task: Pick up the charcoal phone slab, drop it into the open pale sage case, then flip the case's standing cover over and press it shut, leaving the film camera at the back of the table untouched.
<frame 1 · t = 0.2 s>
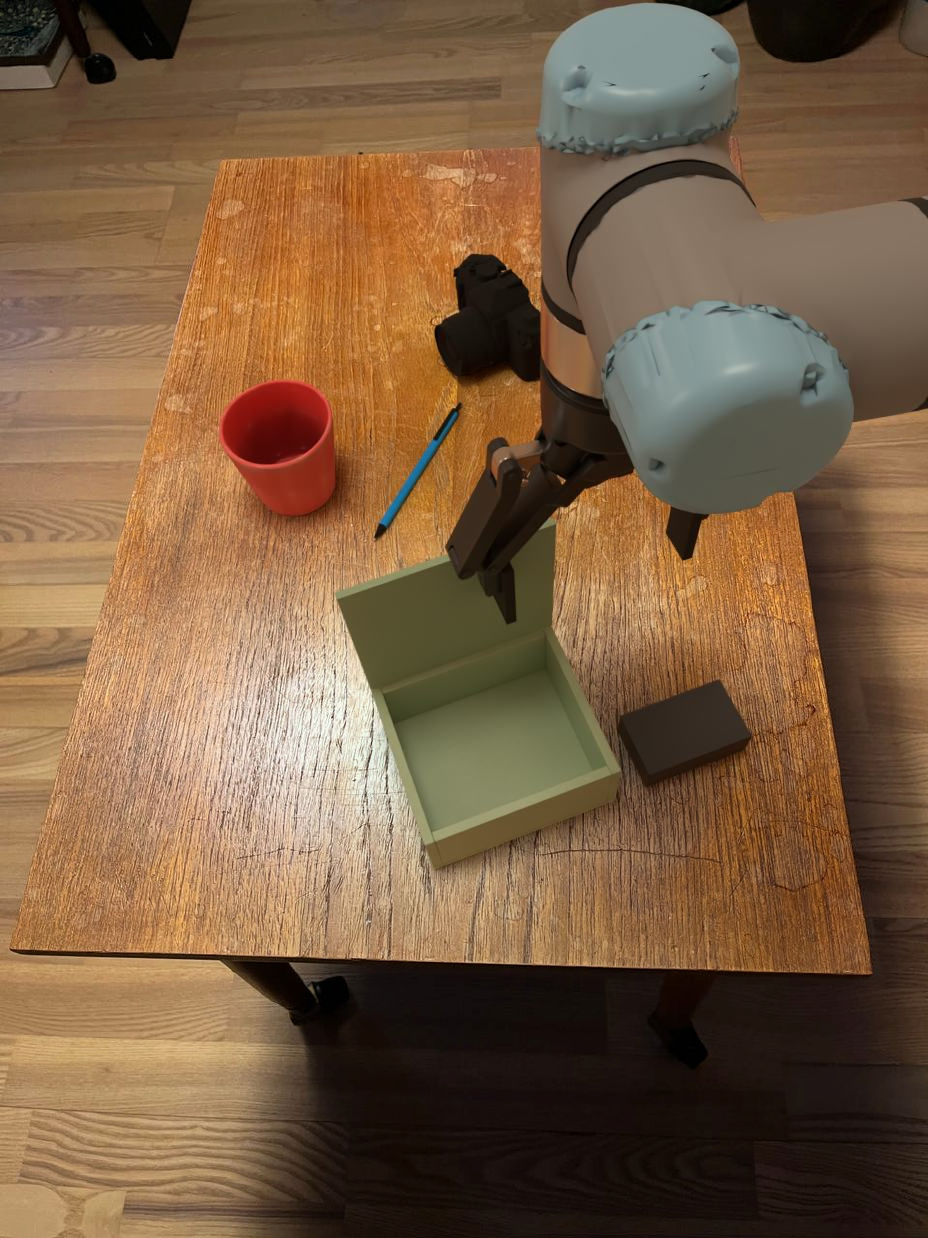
hand: (592, 576, 65), 16 cm above the table, tool pointing down, fingers open, 13 cm apart
cover: (454, 610, 67), point 14 cm above the table, hinge at 88.6°
pen: (419, 472, 92), on the table
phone: (680, 740, 75), on the table
film camera: (484, 353, 100), on the table
flower pot: (299, 487, 92), on the table
case: (495, 760, 76), on the table
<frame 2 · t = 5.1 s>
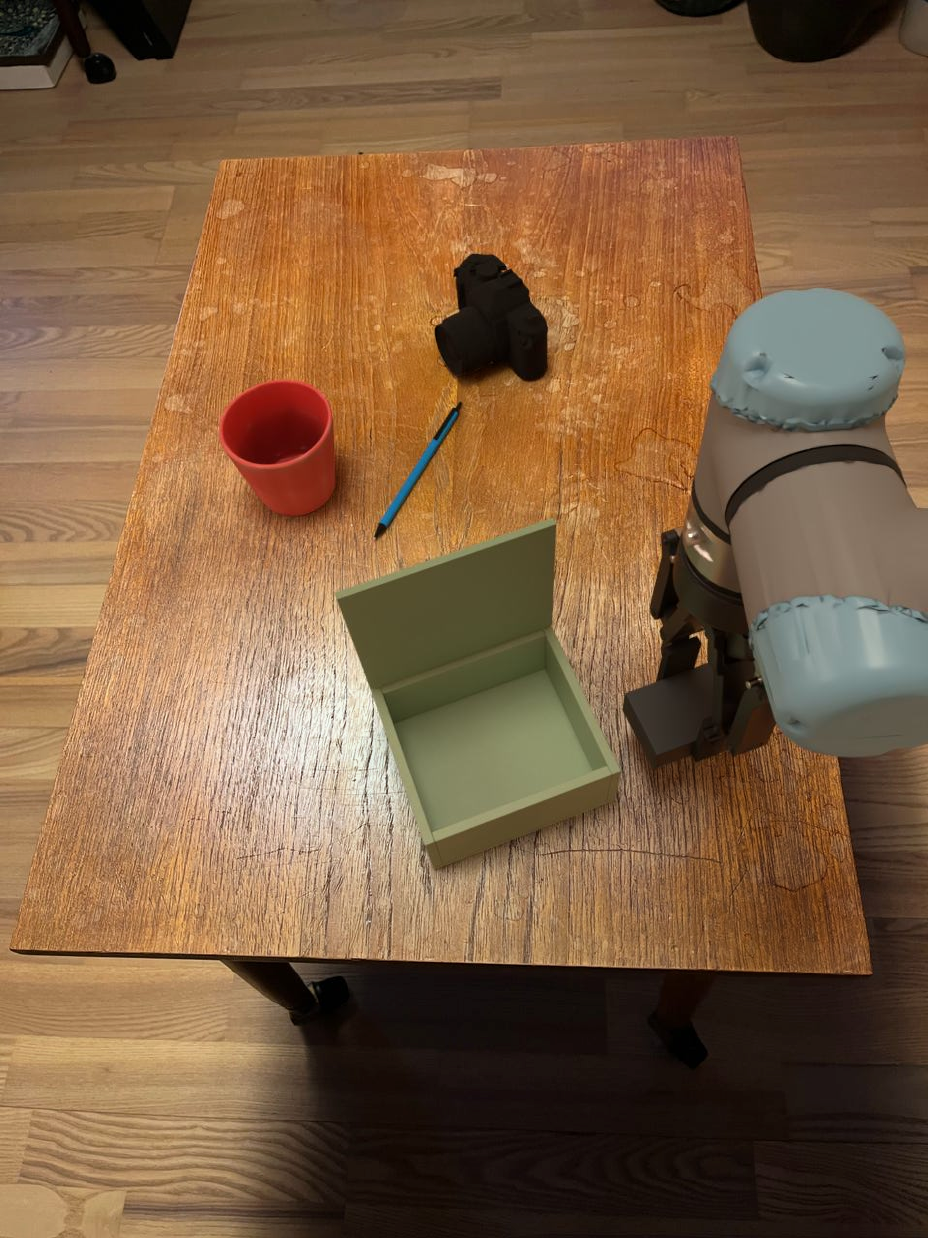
hand: (690, 718, 71), 5 cm above the table, tool pointing down, fingers closed on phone, 5 cm apart
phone: (689, 719, 71), point 5 cm above the table, touching gripper
everything else where it was.
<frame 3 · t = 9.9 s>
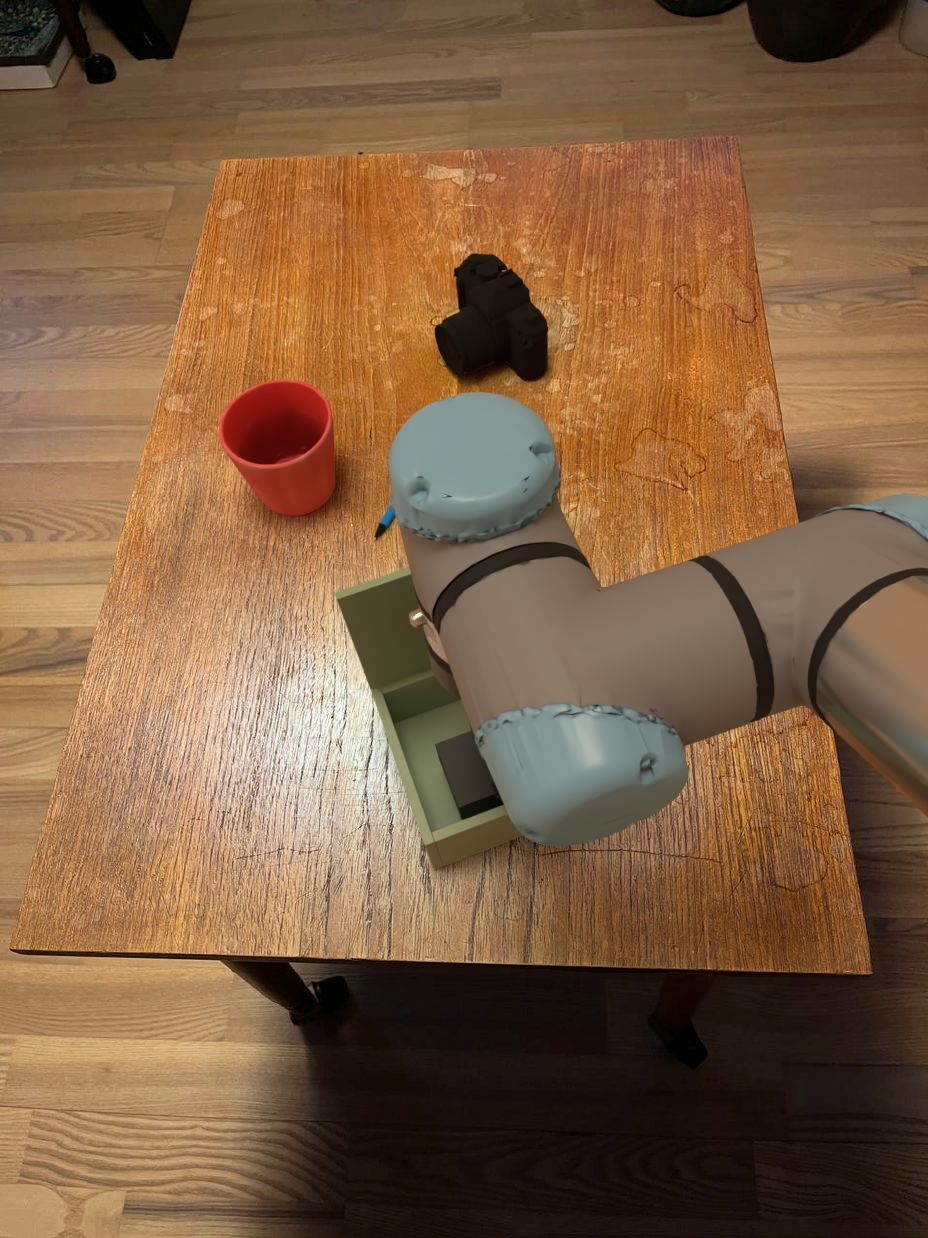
hand: (502, 767, 72), 4 cm above the table, tool pointing down, fingers closed on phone, 5 cm apart
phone: (503, 768, 72), point 3 cm above the table, touching gripper
everything else where it was.
when the fingers open (6 cm above the table, at t = 17.9 s): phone drops 5 cm, resting on case.
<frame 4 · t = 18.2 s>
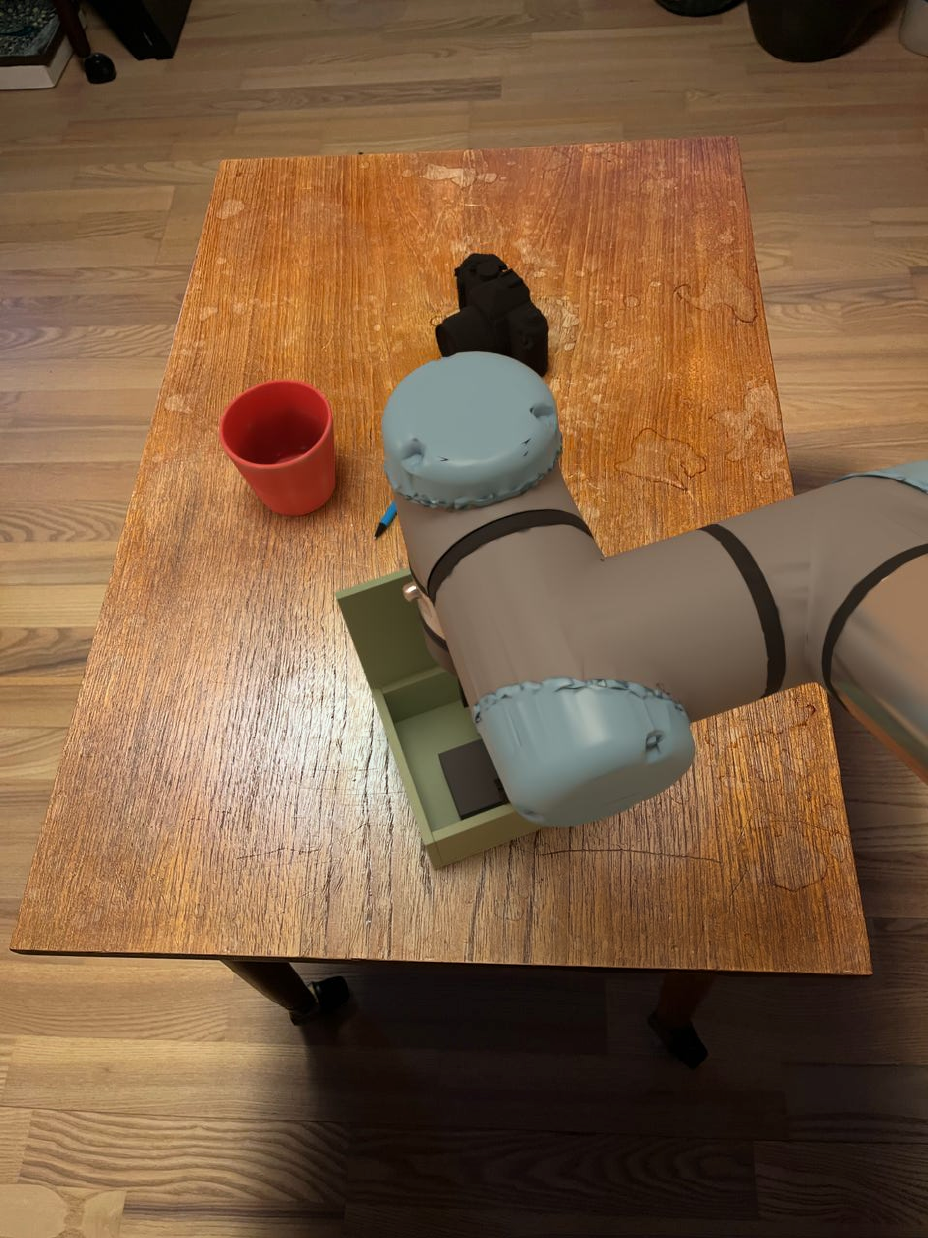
hand: (498, 746, 70), 6 cm above the table, tool pointing down, fingers open, 8 cm apart
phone: (503, 778, 74), point 1 cm above the table, touching case
everything else where it was.
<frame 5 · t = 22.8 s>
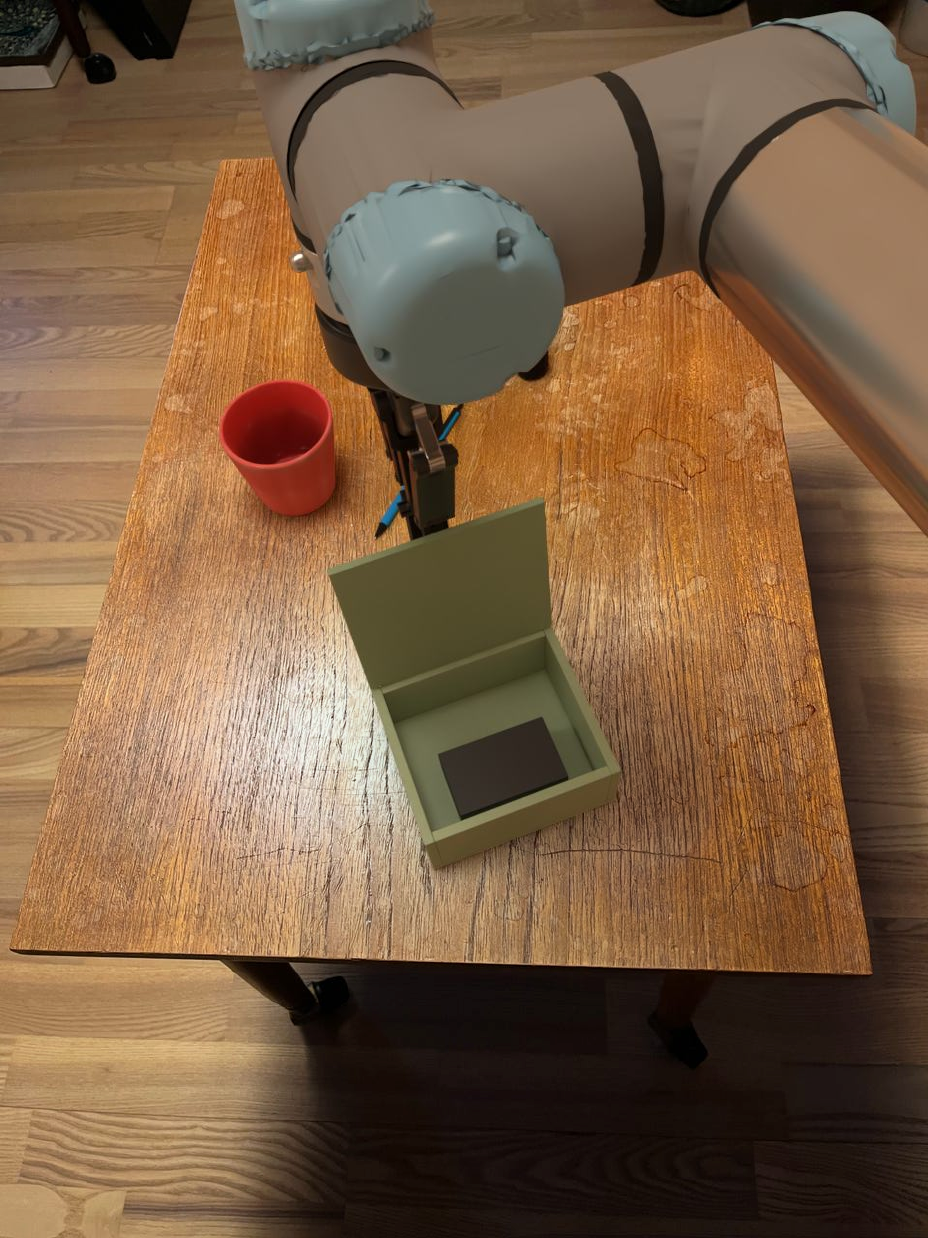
hand: (431, 546, 67), 16 cm above the table, tool pointing down, fingers closed
cover: (450, 599, 67), point 14 cm above the table, hinge at 96.9°, touching gripper
everything else where it was.
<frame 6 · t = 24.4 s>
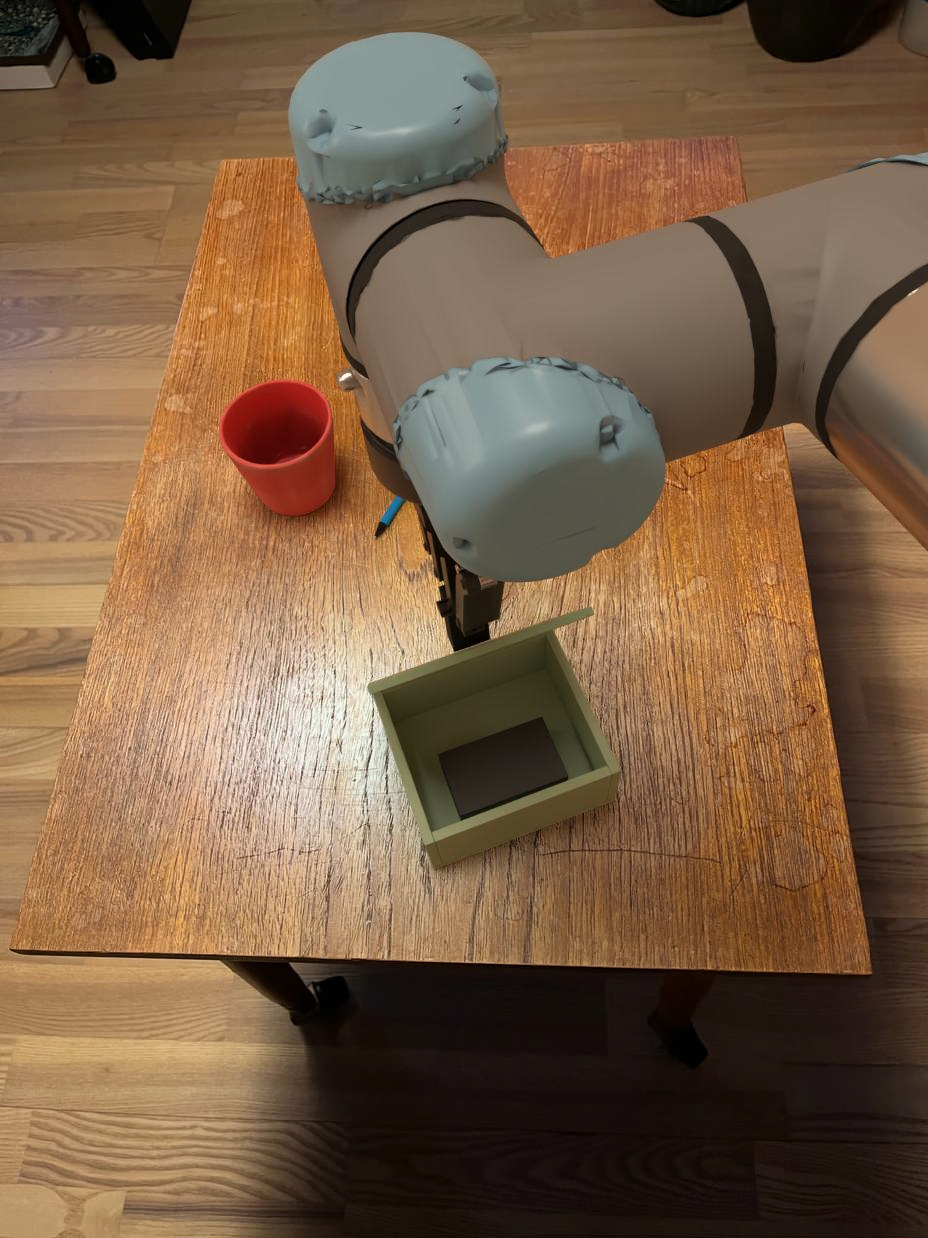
hand: (468, 637, 64), 16 cm above the table, tool pointing down, fingers closed
cover: (470, 652, 66), point 13 cm above the table, hinge at 61.4°, touching gripper
everything else where it was.
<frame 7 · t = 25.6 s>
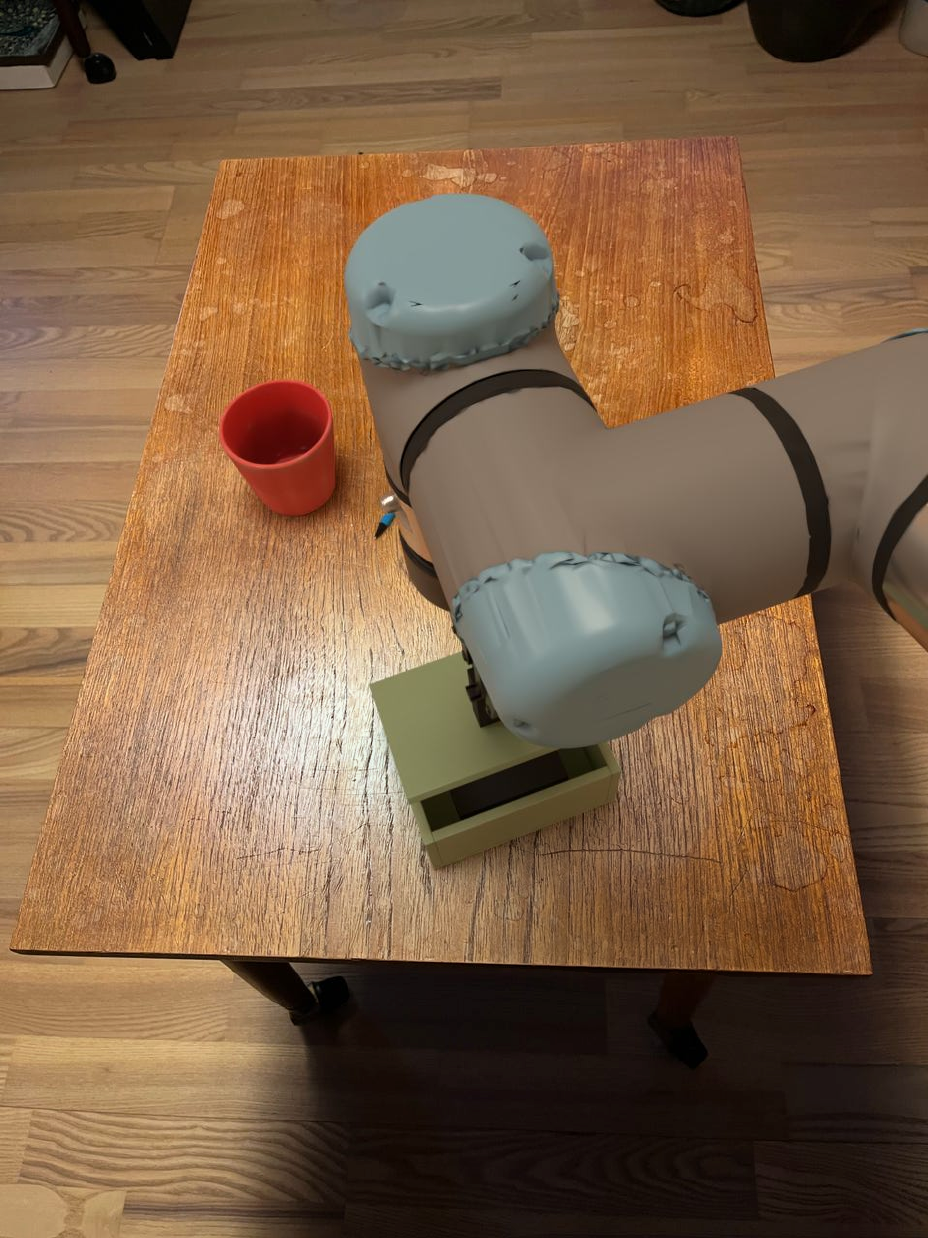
hand: (494, 712, 64), 13 cm above the table, tool pointing down, fingers closed
cover: (486, 702, 67), point 11 cm above the table, hinge at 28.3°, touching gripper
everything else where it was.
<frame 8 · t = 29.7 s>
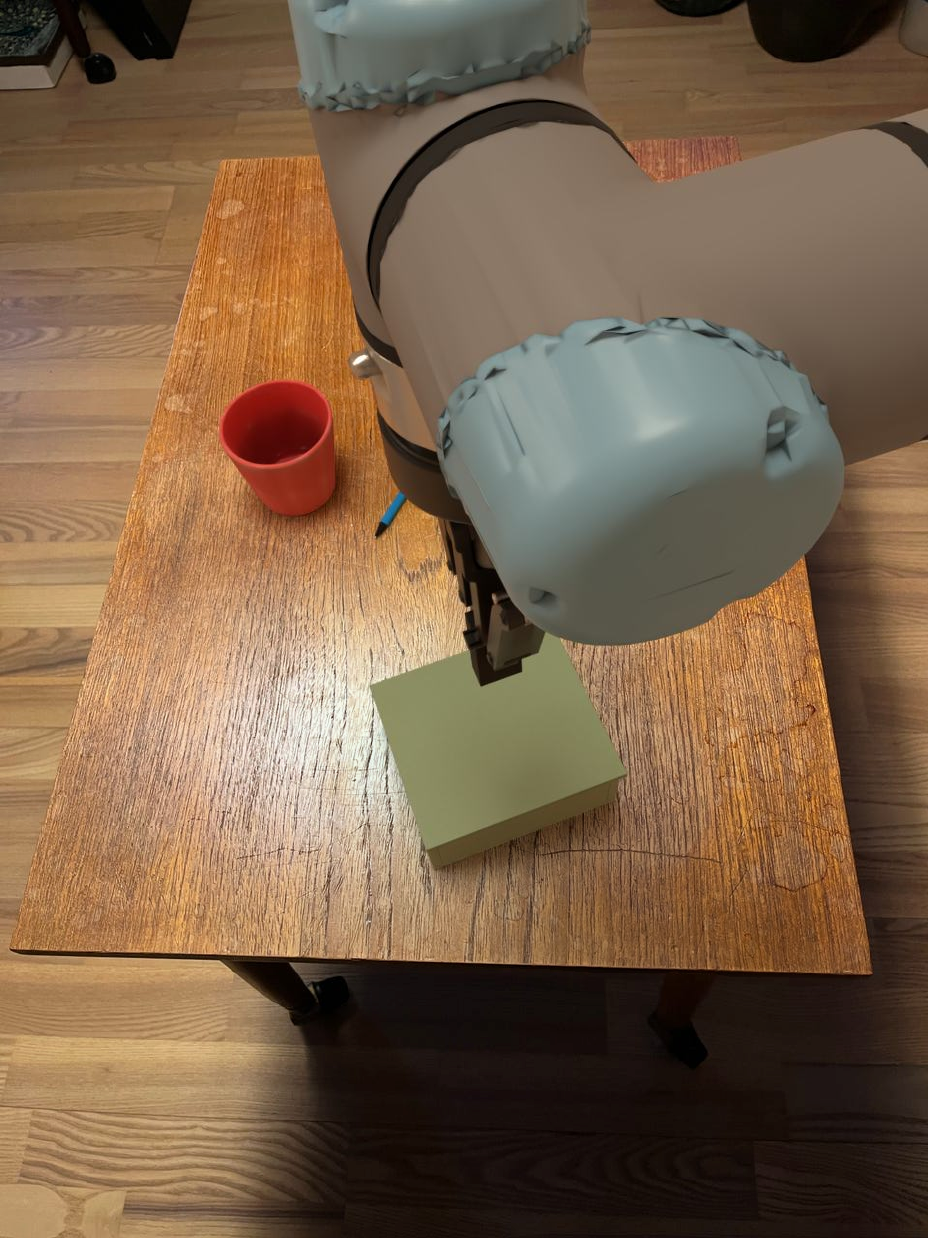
hand: (497, 669, 55), 22 cm above the table, tool pointing down, fingers closed
cover: (492, 729, 69), point 8 cm above the table, hinge at 2.8°
everything else where it was.
at the end: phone inside the target area in the case (2.0 cm from its centre), point 0.8 cm above the case's base; cover at +3° (first picture: +89°); film camera moved 0.3 cm from its start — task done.
